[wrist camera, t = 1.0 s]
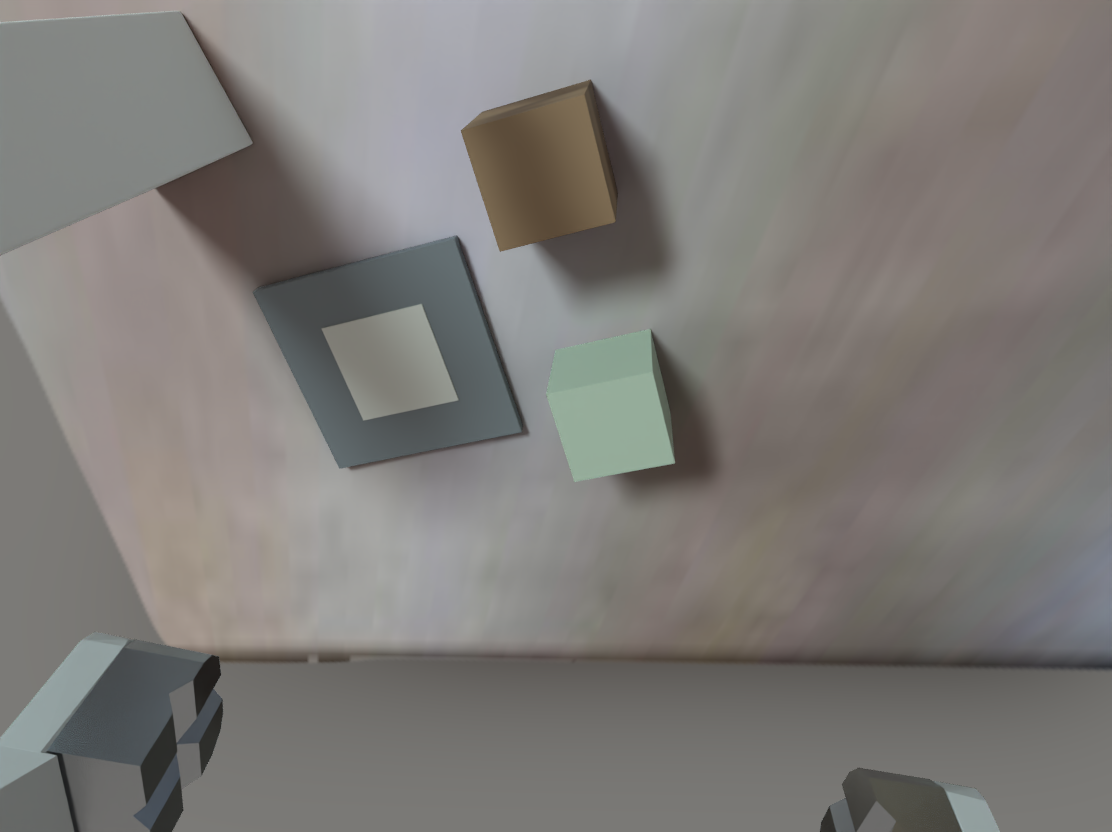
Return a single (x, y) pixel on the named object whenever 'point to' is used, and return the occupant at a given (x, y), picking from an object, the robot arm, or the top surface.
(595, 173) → the walnut block
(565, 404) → the green block
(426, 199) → the top surface
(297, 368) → the coaster
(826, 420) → the top surface
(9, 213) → the milk
